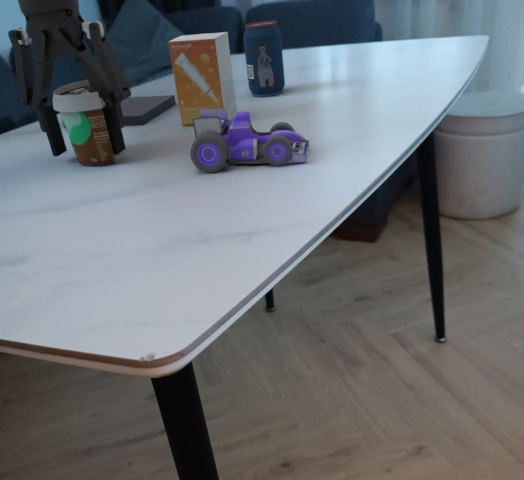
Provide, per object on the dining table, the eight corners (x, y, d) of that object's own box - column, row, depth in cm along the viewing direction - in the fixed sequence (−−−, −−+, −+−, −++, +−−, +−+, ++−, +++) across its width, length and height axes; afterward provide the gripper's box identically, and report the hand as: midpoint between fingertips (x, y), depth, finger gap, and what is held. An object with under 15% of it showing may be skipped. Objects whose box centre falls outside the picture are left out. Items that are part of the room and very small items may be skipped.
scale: (58, 128, 109) (52, 108, 107) (98, 107, 120) (93, 89, 118) (143, 125, 104) (138, 104, 102) (176, 104, 115) (172, 84, 114)
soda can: (272, 87, 119) (266, 19, 112) (292, 91, 114) (287, 20, 107) (243, 94, 116) (235, 25, 109) (262, 99, 111) (254, 27, 104)
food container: (66, 154, 94) (46, 86, 88) (105, 146, 95) (87, 78, 89) (74, 175, 84) (51, 101, 78) (117, 166, 85) (98, 92, 80)
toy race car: (306, 166, 76) (302, 114, 73) (193, 174, 79) (184, 123, 75) (309, 144, 84) (307, 96, 80) (207, 152, 86) (199, 105, 83)
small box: (181, 126, 100) (166, 41, 93) (195, 116, 105) (182, 34, 98) (226, 125, 98) (214, 37, 91) (238, 115, 103) (228, 30, 96)
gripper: (132, -35, 76) (166, 143, 89) (-11, -17, 82) (40, 146, 95) (104, -30, 70) (145, 159, 83) (-48, -12, 76) (12, 162, 89)
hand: (89, 152), depth 89 cm, fingers open, 9 cm apart
